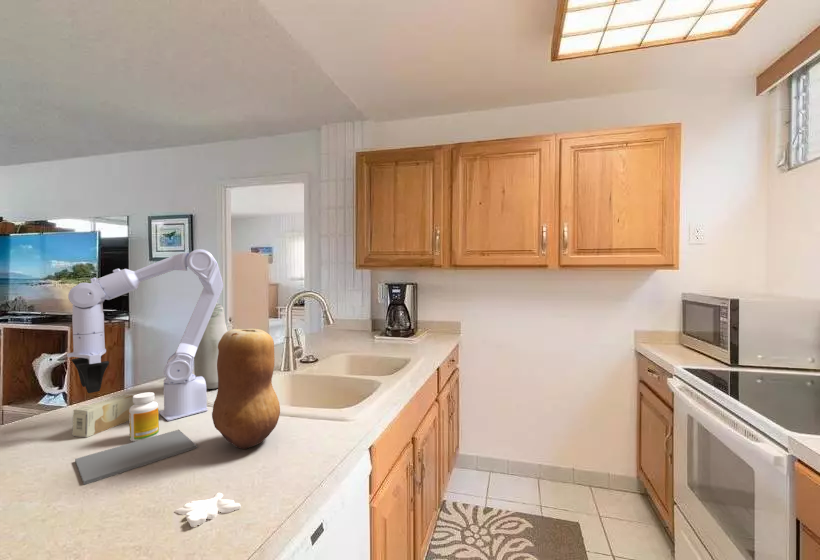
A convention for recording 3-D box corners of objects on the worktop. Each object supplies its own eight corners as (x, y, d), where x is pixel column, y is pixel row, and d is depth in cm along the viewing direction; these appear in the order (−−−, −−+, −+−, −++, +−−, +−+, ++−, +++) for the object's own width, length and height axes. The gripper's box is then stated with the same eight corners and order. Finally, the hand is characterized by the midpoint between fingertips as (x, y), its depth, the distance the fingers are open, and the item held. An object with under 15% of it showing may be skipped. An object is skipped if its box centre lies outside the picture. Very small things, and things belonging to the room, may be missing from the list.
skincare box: (86, 411, 83) (137, 394, 95) (71, 409, 84) (124, 392, 96) (86, 439, 83) (137, 418, 95) (71, 437, 84) (124, 417, 96)
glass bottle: (189, 388, 118) (187, 302, 118) (222, 381, 126) (220, 300, 126) (201, 395, 112) (199, 304, 111) (235, 387, 120) (233, 302, 119)
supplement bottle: (164, 433, 85) (163, 392, 85) (140, 444, 80) (139, 399, 80) (148, 430, 87) (147, 390, 86) (123, 440, 81) (122, 397, 81)
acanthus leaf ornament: (241, 512, 57) (241, 500, 57) (193, 537, 52) (193, 523, 52) (219, 494, 62) (219, 483, 62) (174, 515, 57) (174, 503, 57)
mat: (178, 432, 86) (178, 429, 86) (196, 448, 78) (196, 445, 78) (75, 461, 72) (75, 458, 72) (83, 484, 64) (83, 481, 64)
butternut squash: (293, 436, 83) (291, 326, 82) (243, 464, 70) (241, 336, 70) (249, 426, 88) (247, 323, 88) (196, 450, 76) (194, 331, 76)
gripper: (62, 332, 90) (64, 387, 90) (70, 338, 80) (72, 399, 80) (99, 328, 95) (101, 380, 95) (111, 334, 85) (113, 391, 86)
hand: (90, 388), depth 88 cm, fingers open, 7 cm apart
